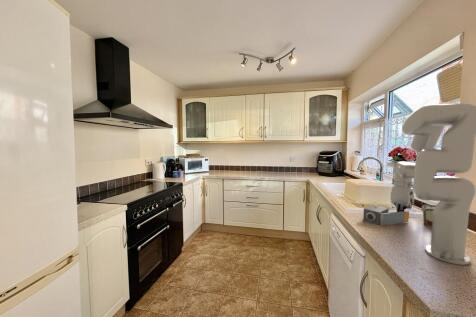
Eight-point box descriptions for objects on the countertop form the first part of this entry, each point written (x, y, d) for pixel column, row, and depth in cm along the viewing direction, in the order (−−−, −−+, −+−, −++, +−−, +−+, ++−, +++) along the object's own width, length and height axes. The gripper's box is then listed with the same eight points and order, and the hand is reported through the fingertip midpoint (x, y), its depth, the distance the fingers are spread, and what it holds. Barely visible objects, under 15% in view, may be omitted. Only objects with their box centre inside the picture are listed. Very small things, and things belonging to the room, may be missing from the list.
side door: (381, 225, 111) (382, 214, 110) (379, 224, 112) (380, 213, 111) (408, 222, 115) (409, 210, 114) (406, 221, 116) (407, 210, 115)
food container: (438, 222, 115) (440, 204, 114) (448, 227, 109) (450, 208, 108) (414, 221, 117) (415, 204, 116) (423, 226, 111) (424, 207, 110)
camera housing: (377, 225, 111) (378, 212, 110) (362, 221, 118) (362, 208, 117) (387, 220, 119) (388, 207, 118) (372, 215, 125) (373, 203, 125)
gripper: (422, 186, 109) (419, 220, 112) (394, 180, 124) (392, 210, 126) (412, 188, 107) (409, 222, 110) (384, 181, 122) (382, 211, 124)
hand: (400, 215), depth 118 cm, fingers closed
